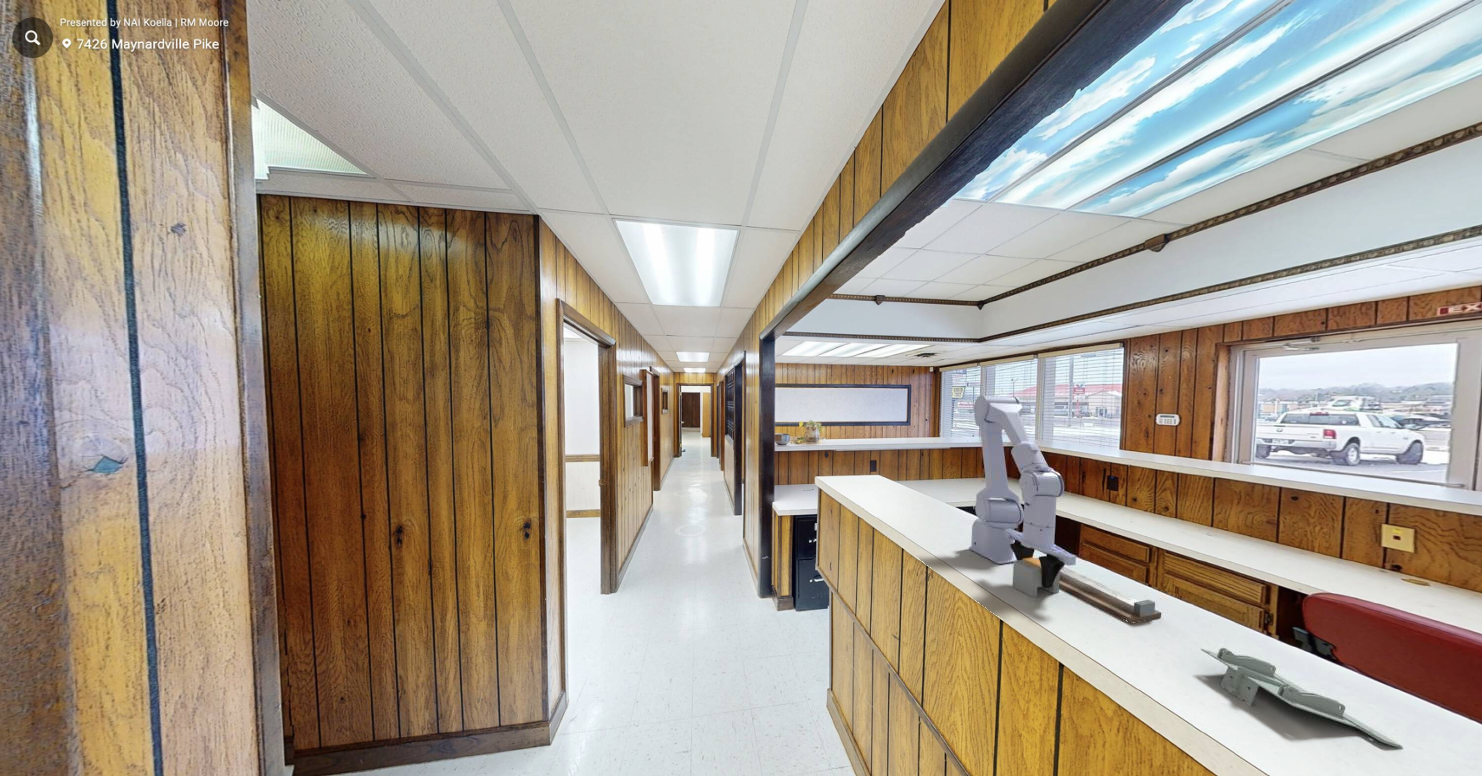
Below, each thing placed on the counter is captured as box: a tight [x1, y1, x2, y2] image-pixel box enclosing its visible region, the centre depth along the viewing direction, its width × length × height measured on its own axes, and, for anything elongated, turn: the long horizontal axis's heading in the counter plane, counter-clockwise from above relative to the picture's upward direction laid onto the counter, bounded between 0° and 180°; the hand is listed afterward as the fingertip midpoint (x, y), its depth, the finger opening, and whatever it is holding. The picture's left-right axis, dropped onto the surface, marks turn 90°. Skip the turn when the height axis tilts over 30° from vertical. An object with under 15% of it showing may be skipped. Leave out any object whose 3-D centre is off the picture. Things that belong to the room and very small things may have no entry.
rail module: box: [1012, 556, 1060, 598], centre depth 87 cm, size 4×8×6 cm, turn 105°
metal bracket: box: [1200, 647, 1404, 749], centre depth 58 cm, size 14×6×15 cm
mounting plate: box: [1059, 578, 1162, 624], centre depth 86 cm, size 18×9×1 cm, turn 15°
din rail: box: [1060, 565, 1156, 617], centre depth 85 cm, size 18×4×2 cm, turn 15°
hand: (1035, 581), depth 87 cm, fingers closed on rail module, 4 cm apart
